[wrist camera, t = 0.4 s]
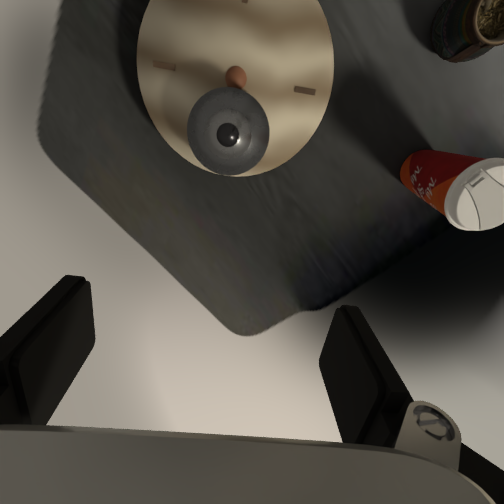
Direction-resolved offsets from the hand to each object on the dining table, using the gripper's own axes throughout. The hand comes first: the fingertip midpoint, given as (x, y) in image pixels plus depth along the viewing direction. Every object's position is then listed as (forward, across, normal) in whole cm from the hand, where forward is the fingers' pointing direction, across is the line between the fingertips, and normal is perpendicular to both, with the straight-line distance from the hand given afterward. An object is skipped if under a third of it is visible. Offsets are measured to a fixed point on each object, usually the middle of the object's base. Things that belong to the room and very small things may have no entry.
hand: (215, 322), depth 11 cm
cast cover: (+30, +1, -5) cm, 30 cm away
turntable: (+32, +1, -10) cm, 33 cm away
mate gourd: (+33, -23, -20) cm, 45 cm away
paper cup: (+33, -26, -4) cm, 42 cm away
